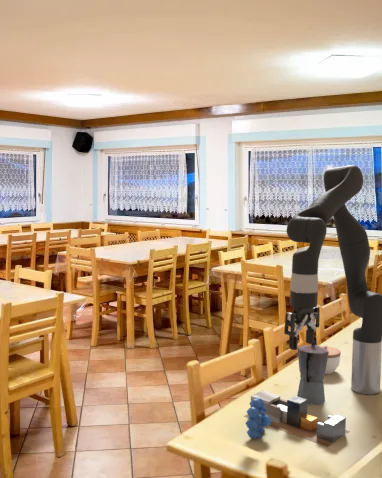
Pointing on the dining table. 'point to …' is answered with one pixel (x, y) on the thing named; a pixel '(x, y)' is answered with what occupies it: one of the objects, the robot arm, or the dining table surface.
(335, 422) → the socket
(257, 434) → the grapes
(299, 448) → the dining table surface
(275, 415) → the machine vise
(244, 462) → the dining table surface
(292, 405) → the grey block
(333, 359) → the lidded jar
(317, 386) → the moka pot
